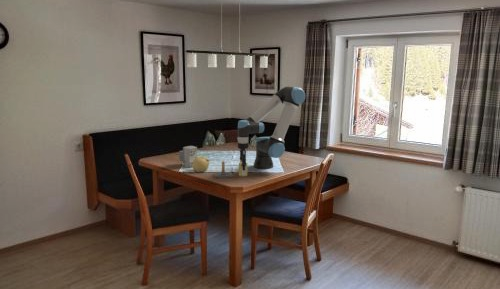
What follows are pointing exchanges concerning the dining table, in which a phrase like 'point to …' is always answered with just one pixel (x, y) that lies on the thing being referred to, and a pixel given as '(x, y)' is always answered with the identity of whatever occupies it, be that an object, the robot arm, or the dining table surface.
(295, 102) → the robot arm
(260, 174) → the dining table surface
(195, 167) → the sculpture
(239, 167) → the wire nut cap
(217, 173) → the grey plate with rod
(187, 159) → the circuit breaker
